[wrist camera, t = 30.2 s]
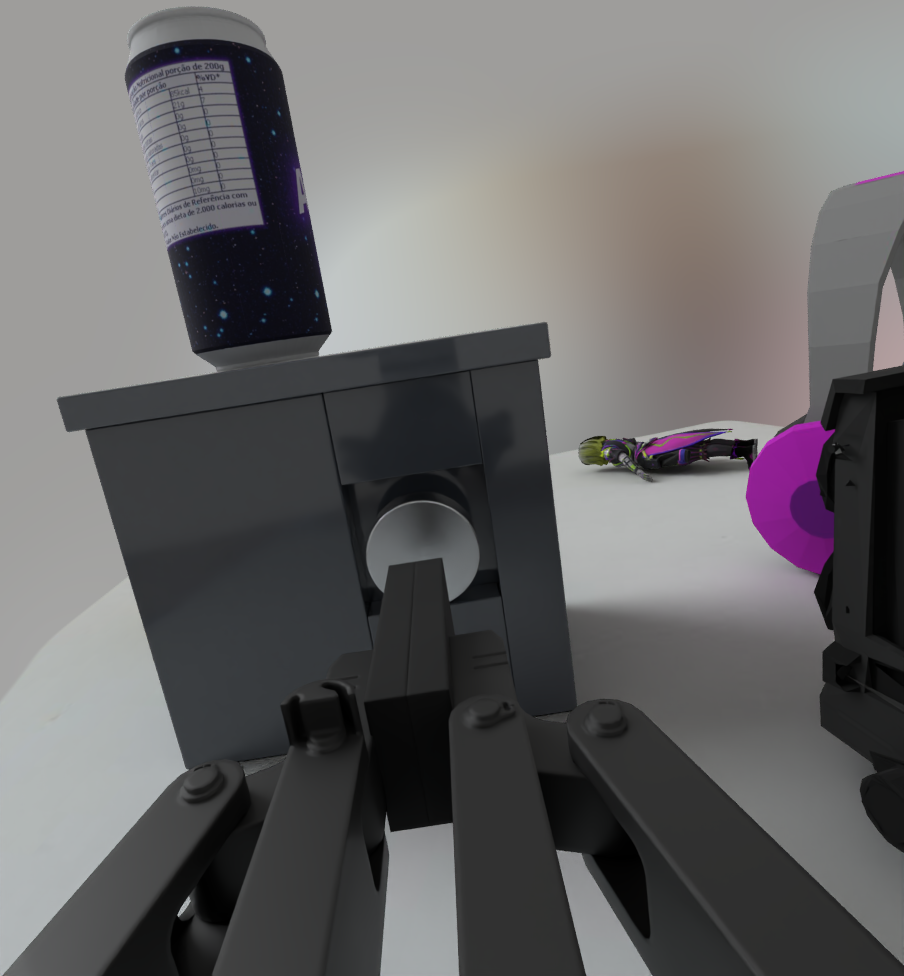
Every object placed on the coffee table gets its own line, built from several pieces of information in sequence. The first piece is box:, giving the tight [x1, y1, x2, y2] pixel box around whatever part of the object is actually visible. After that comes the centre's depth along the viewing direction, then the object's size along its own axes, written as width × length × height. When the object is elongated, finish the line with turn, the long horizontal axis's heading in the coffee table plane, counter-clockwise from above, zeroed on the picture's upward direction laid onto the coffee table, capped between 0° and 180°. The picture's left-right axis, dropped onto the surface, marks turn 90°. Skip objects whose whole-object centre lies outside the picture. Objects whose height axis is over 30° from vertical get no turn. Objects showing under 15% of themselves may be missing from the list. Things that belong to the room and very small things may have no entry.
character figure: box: [578, 429, 758, 482], centre depth 58 cm, size 9×4×16 cm
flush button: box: [366, 491, 480, 602], centre depth 22 cm, size 4×1×4 cm, turn 92°
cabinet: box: [57, 322, 577, 769], centre depth 28 cm, size 17×11×15 cm, turn 92°
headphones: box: [746, 171, 904, 574], centre depth 35 cm, size 21×9×20 cm, turn 132°
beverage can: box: [125, 7, 332, 372], centre depth 24 cm, size 6×6×12 cm
